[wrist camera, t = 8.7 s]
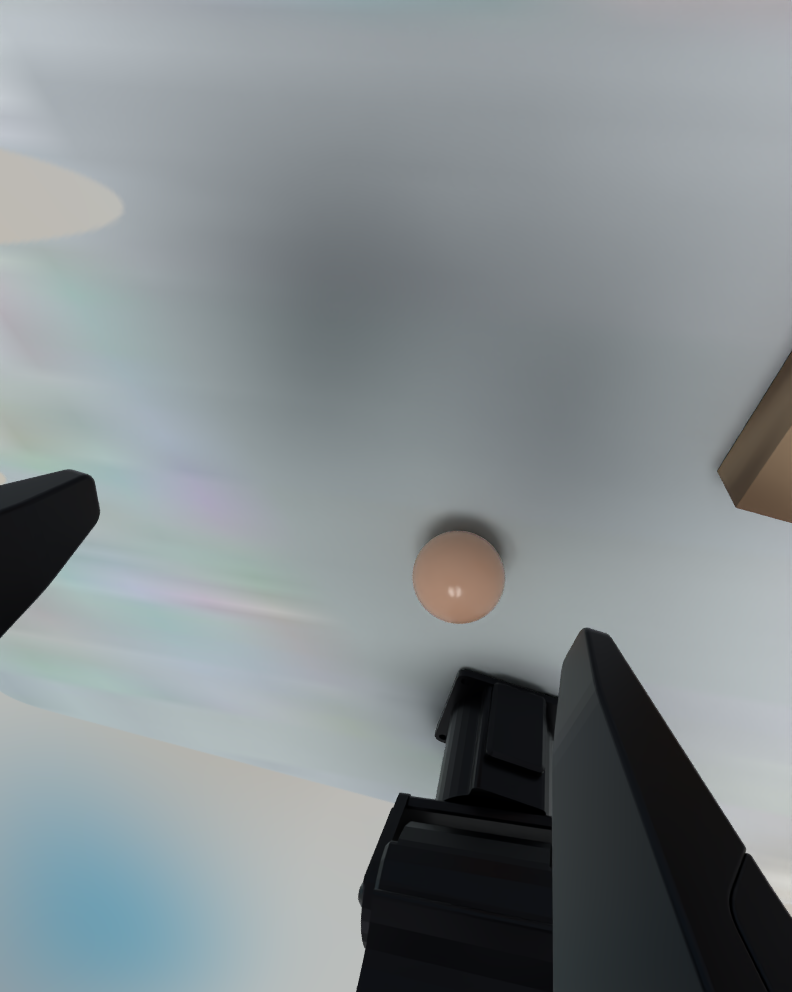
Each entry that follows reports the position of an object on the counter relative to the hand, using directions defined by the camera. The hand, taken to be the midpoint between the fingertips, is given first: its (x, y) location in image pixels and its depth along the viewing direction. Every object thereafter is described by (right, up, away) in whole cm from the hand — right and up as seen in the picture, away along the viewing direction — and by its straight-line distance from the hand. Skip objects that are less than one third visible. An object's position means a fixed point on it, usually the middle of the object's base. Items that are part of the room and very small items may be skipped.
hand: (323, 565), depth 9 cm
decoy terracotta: (+4, -2, +14) cm, 15 cm away
